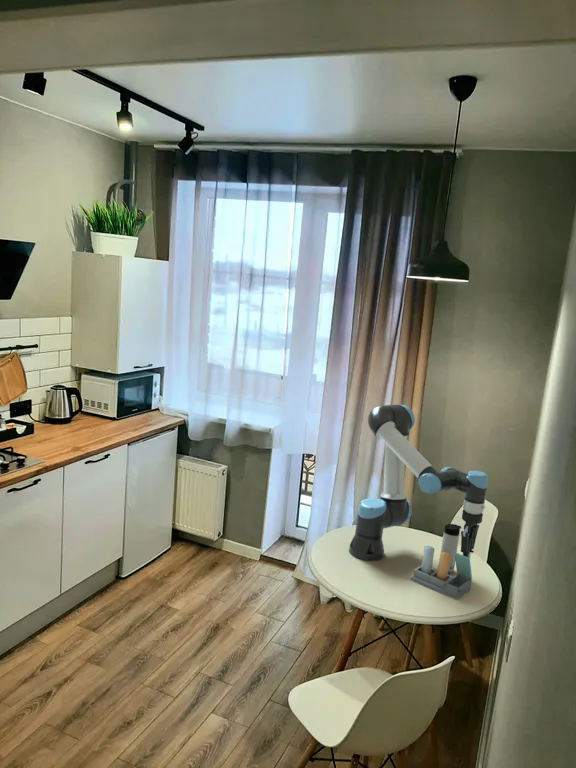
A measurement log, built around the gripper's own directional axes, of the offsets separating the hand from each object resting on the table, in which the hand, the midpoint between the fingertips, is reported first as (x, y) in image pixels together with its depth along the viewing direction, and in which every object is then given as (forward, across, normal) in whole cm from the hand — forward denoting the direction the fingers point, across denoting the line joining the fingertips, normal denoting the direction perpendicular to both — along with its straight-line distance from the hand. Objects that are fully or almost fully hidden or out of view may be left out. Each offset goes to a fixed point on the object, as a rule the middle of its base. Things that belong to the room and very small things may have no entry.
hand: (464, 567), depth 225 cm
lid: (-1, -2, 0) cm, 3 cm away
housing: (+8, -5, +7) cm, 12 cm away
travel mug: (+9, +9, +10) cm, 16 cm away
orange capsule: (+7, -5, +7) cm, 11 cm away
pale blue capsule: (+8, -5, +13) cm, 17 cm away
